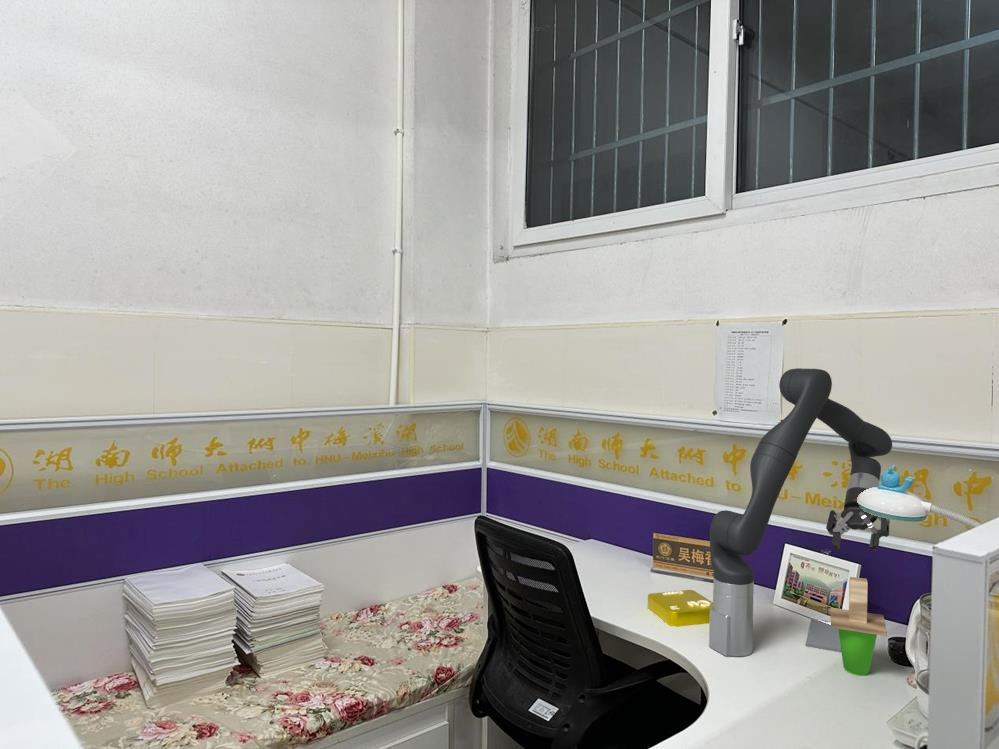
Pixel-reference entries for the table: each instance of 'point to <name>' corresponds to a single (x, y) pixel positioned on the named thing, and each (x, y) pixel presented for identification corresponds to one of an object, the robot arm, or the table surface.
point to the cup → (857, 651)
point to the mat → (823, 636)
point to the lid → (858, 612)
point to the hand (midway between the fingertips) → (854, 548)
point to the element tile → (680, 607)
